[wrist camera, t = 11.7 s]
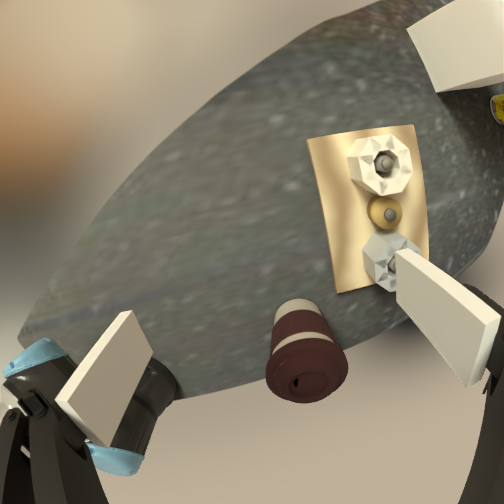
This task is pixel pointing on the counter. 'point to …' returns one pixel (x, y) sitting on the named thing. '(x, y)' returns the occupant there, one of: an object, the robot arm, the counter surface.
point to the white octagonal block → (364, 169)
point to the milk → (462, 44)
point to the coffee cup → (304, 355)
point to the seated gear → (384, 256)
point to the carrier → (365, 203)
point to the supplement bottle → (498, 108)
